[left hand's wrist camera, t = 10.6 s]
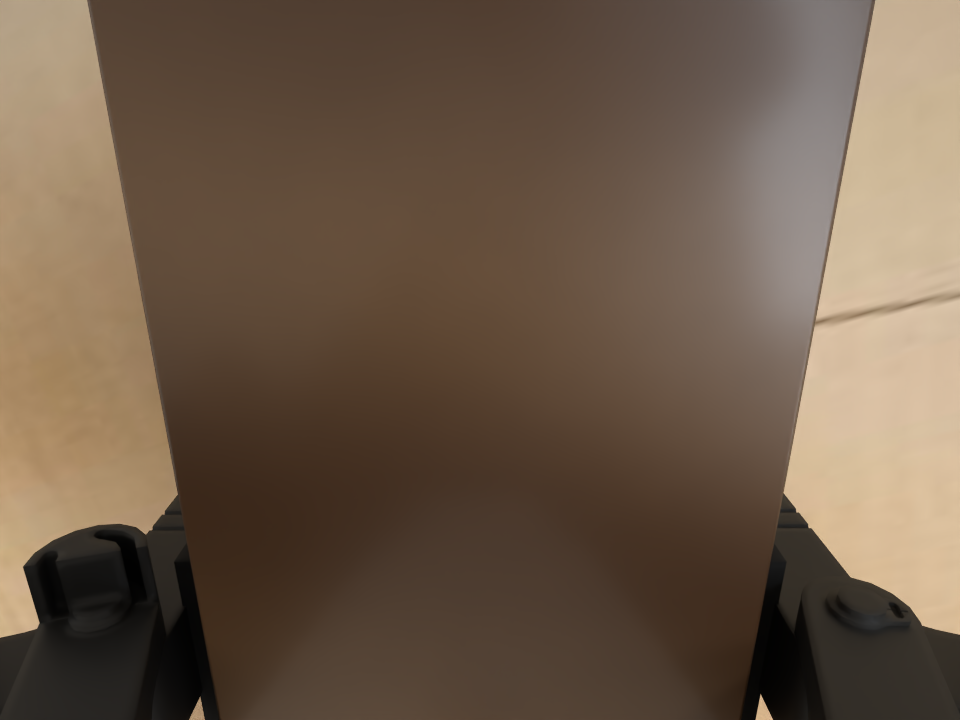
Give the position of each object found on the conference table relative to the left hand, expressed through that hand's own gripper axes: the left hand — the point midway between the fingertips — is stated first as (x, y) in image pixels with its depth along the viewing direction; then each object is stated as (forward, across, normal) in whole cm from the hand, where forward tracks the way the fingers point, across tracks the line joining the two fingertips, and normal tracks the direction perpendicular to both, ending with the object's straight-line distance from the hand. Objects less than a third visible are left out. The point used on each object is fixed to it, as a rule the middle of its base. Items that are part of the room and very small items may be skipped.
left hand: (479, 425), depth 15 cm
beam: (0, 0, -16) cm, 16 cm away
